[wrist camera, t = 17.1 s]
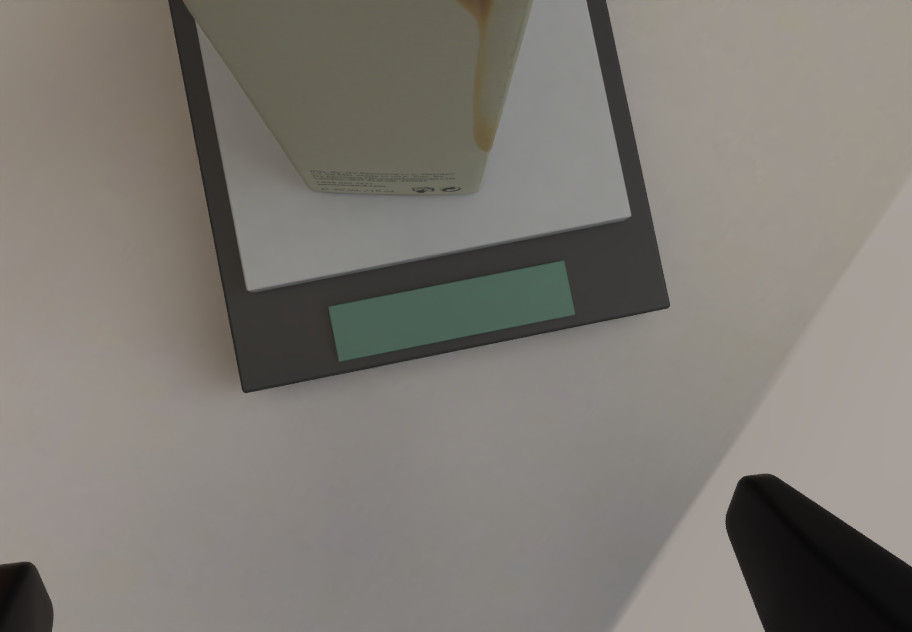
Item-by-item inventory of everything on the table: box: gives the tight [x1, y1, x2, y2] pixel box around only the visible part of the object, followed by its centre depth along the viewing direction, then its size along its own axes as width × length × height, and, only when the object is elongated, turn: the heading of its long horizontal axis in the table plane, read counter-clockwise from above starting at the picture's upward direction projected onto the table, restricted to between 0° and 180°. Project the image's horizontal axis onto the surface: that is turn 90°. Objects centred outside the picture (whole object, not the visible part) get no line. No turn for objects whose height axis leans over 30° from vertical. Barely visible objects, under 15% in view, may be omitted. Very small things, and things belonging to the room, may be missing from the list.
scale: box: [168, 0, 670, 393], centre depth 19 cm, size 12×11×3 cm
